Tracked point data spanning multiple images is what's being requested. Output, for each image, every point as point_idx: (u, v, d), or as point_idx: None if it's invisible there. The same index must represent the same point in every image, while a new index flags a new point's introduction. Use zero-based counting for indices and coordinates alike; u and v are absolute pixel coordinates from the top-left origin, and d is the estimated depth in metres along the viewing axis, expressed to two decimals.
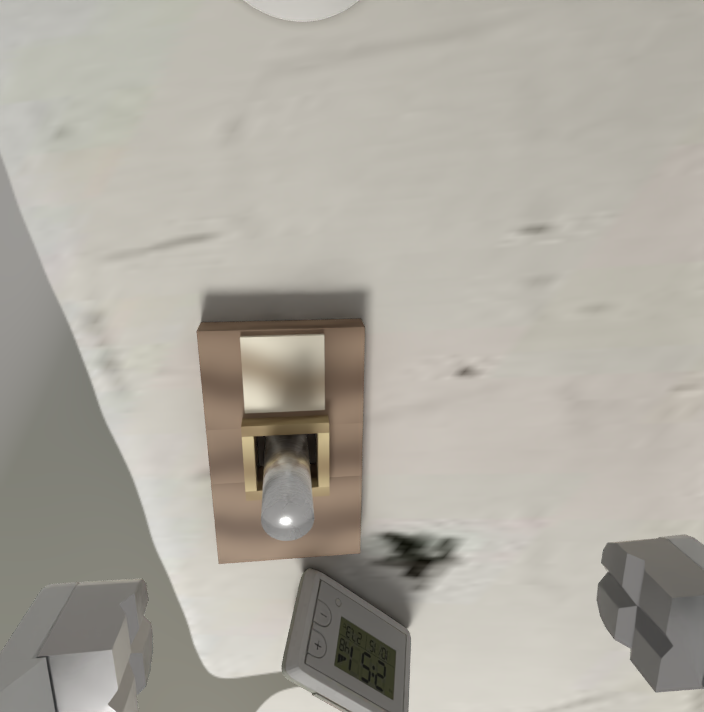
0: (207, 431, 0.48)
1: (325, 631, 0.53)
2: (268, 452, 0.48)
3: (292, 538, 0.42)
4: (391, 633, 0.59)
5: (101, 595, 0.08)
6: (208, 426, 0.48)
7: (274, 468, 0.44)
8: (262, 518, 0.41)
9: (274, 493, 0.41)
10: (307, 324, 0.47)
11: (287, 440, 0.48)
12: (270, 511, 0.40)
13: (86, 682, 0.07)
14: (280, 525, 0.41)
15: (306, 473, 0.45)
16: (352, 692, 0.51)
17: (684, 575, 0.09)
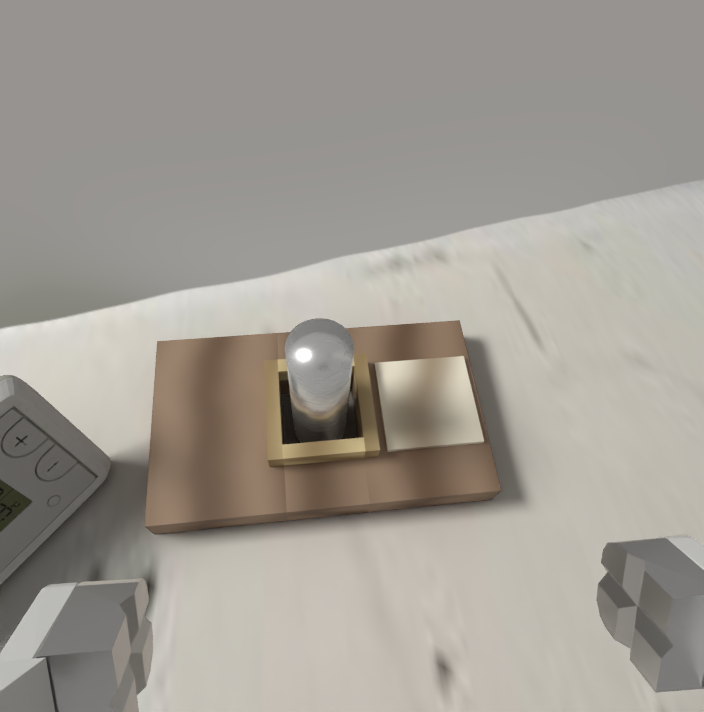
0: (346, 329, 0.43)
1: (31, 462, 0.33)
2: None
3: (288, 354, 0.31)
4: None
5: (101, 595, 0.08)
6: (352, 330, 0.43)
7: None
8: (320, 319, 0.32)
9: None
10: None
11: None
12: (332, 327, 0.32)
13: (86, 682, 0.07)
14: (309, 339, 0.32)
15: (339, 401, 0.34)
16: None
17: (683, 575, 0.09)
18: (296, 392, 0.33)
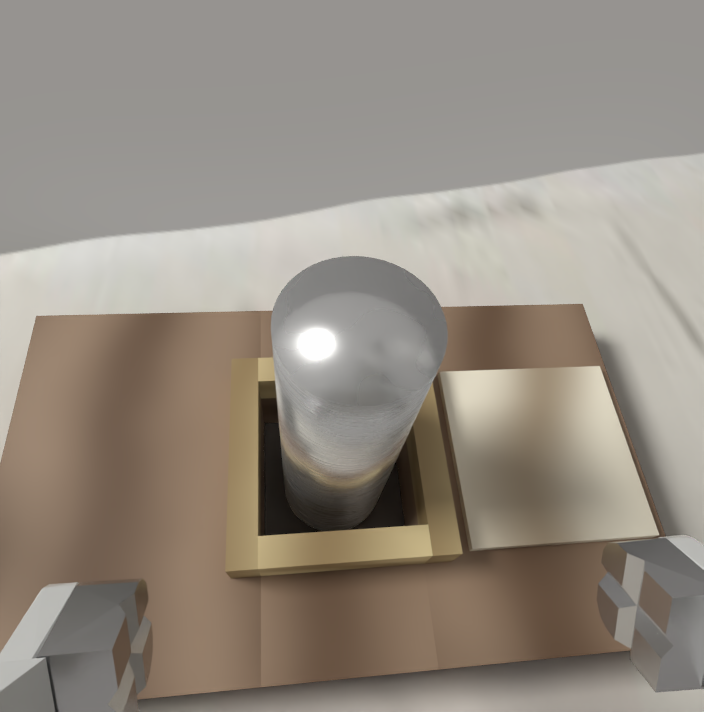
0: None
1: None
2: None
3: (279, 338, 0.12)
4: None
5: (101, 595, 0.08)
6: None
7: None
8: (362, 259, 0.13)
9: None
10: None
11: None
12: (390, 278, 0.13)
13: (86, 682, 0.07)
14: (335, 304, 0.12)
15: (391, 454, 0.15)
16: None
17: (683, 575, 0.09)
18: (294, 433, 0.14)
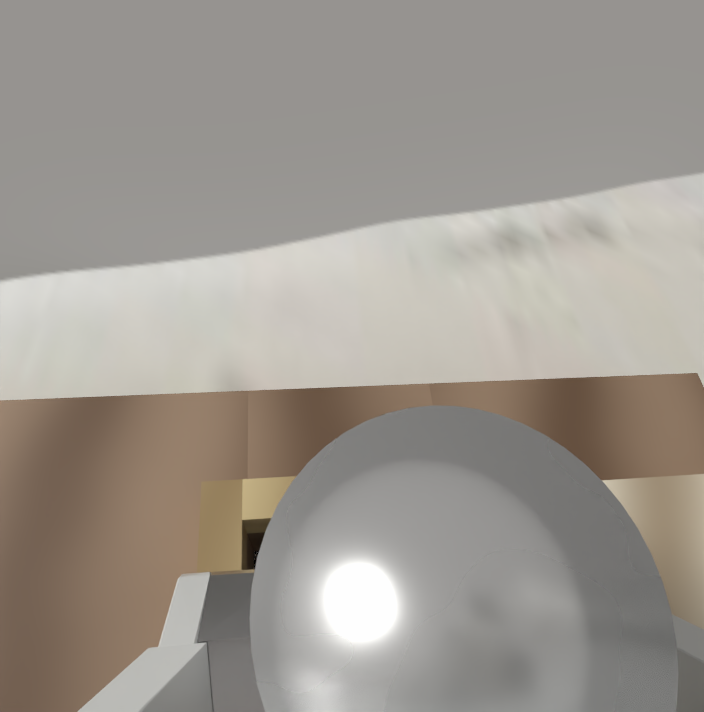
0: (425, 387, 0.17)
1: None
2: None
3: (271, 654, 0.05)
4: None
5: (238, 584, 0.08)
6: (441, 390, 0.17)
7: None
8: (452, 414, 0.06)
9: None
10: None
11: None
12: (518, 462, 0.06)
13: (241, 667, 0.07)
14: (403, 540, 0.05)
15: None
16: None
17: None
18: None
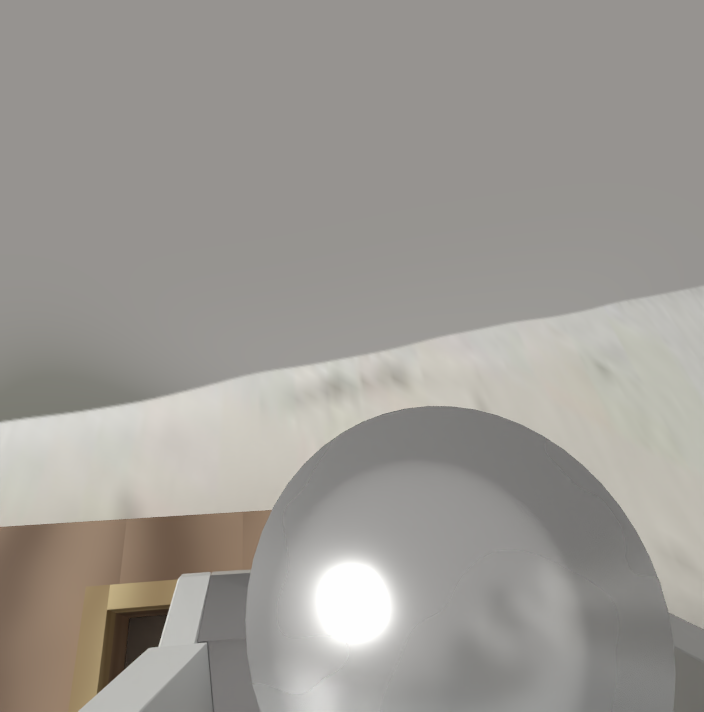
0: (240, 514, 0.27)
1: None
2: None
3: (267, 656, 0.05)
4: None
5: (239, 584, 0.08)
6: (250, 516, 0.27)
7: None
8: (449, 415, 0.06)
9: None
10: None
11: None
12: (516, 462, 0.06)
13: (241, 667, 0.07)
14: (399, 542, 0.05)
15: None
16: None
17: None
18: None
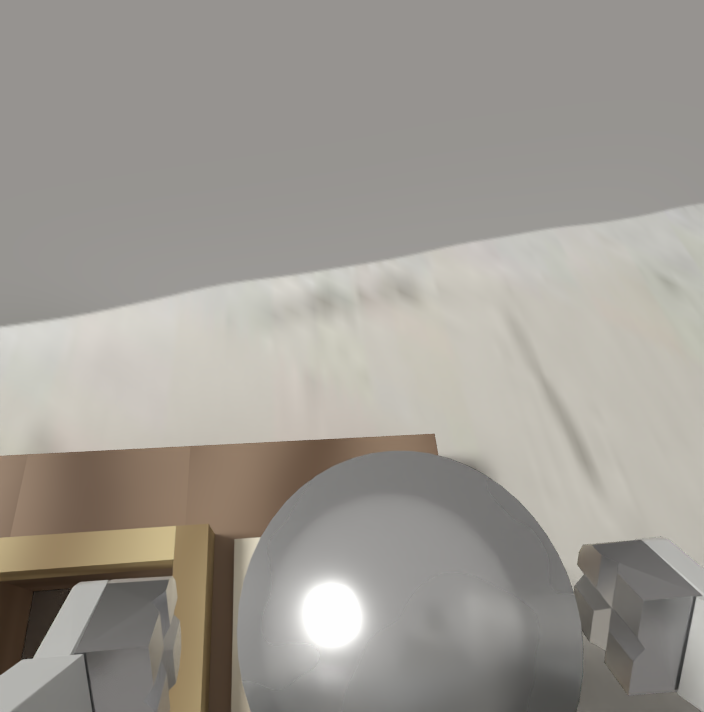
0: (186, 449, 0.20)
1: None
2: None
3: (253, 659, 0.06)
4: None
5: (133, 592, 0.08)
6: (200, 451, 0.20)
7: None
8: (408, 458, 0.07)
9: None
10: None
11: None
12: (461, 498, 0.07)
13: (122, 678, 0.07)
14: (362, 566, 0.07)
15: None
16: None
17: (656, 578, 0.08)
18: None
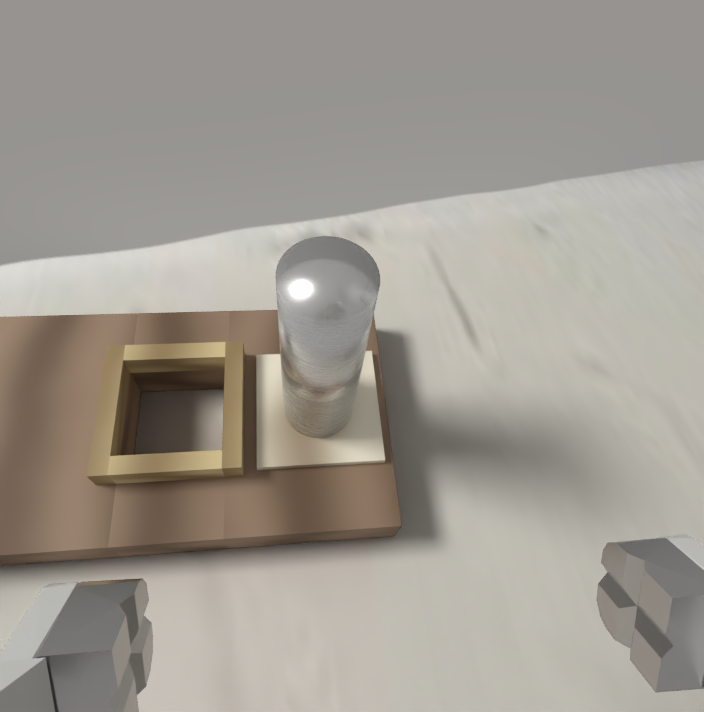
0: (227, 312, 0.34)
1: None
2: None
3: (280, 283, 0.20)
4: None
5: (101, 595, 0.08)
6: (235, 314, 0.34)
7: None
8: (330, 238, 0.22)
9: None
10: None
11: None
12: (347, 249, 0.21)
13: (86, 682, 0.07)
14: (313, 264, 0.21)
15: (352, 364, 0.24)
16: None
17: (683, 575, 0.09)
18: (290, 347, 0.23)
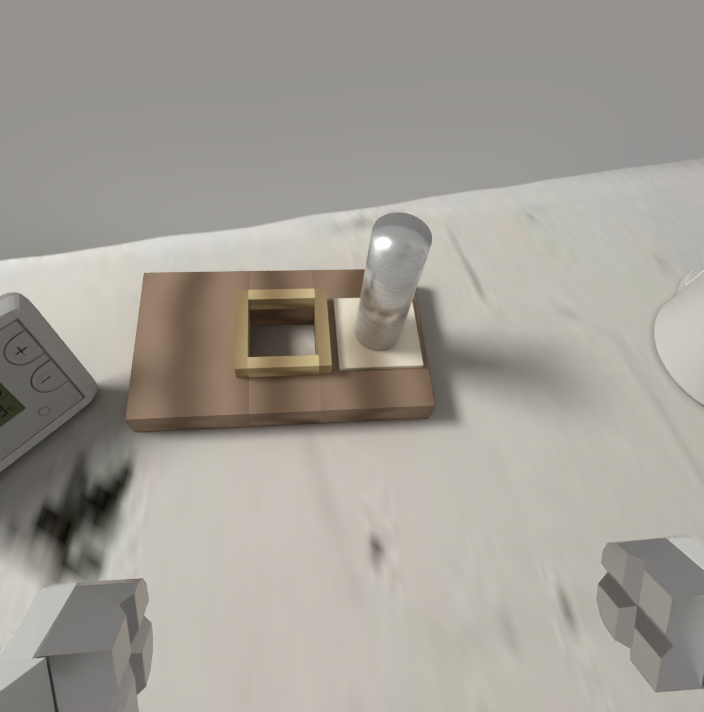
0: (310, 271, 0.49)
1: (27, 371, 0.38)
2: None
3: (375, 238, 0.35)
4: None
5: (101, 595, 0.08)
6: (316, 272, 0.49)
7: None
8: (401, 213, 0.37)
9: None
10: None
11: None
12: (411, 220, 0.37)
13: (86, 682, 0.07)
14: (393, 228, 0.36)
15: (410, 292, 0.39)
16: None
17: (683, 575, 0.09)
18: (375, 280, 0.38)
